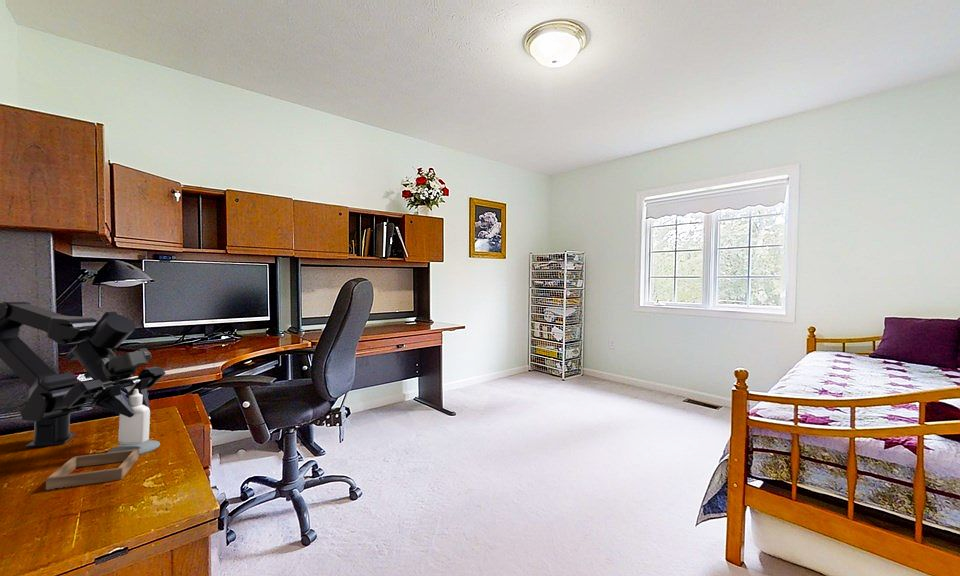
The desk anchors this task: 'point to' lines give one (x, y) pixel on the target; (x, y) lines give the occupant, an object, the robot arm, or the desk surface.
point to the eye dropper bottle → (135, 422)
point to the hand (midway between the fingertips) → (140, 413)
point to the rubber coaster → (138, 447)
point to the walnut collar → (67, 480)
